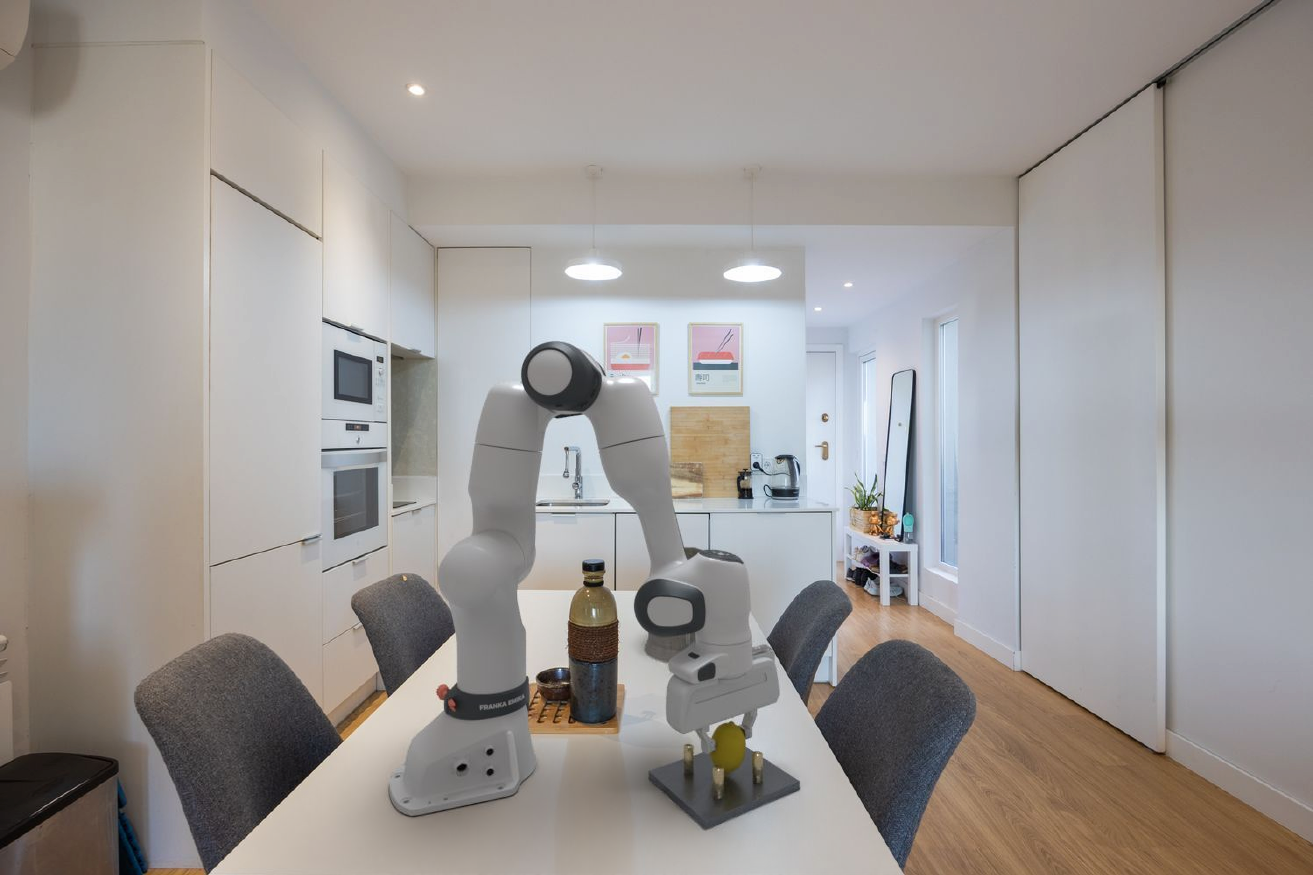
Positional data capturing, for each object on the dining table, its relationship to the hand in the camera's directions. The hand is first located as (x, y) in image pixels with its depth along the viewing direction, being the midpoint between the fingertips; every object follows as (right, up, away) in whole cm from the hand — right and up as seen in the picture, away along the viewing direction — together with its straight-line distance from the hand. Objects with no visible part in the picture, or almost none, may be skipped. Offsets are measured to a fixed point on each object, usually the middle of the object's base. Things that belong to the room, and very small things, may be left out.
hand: (727, 744), depth 92 cm
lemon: (-1, -5, 0) cm, 5 cm away
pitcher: (-3, -8, +58) cm, 59 cm away
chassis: (-1, -6, 0) cm, 6 cm away
